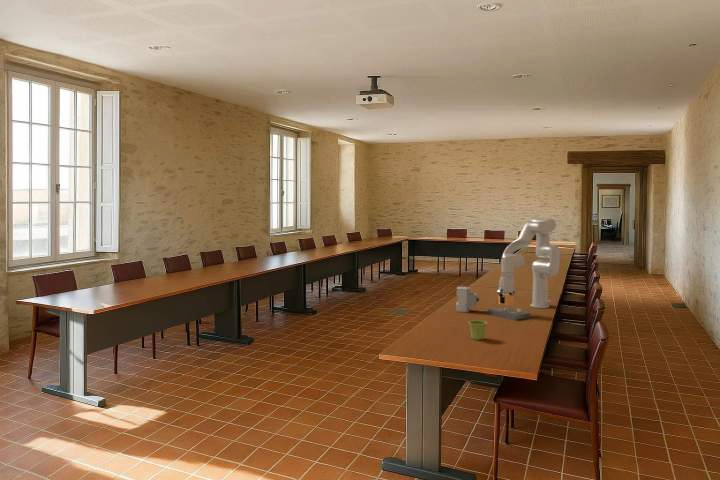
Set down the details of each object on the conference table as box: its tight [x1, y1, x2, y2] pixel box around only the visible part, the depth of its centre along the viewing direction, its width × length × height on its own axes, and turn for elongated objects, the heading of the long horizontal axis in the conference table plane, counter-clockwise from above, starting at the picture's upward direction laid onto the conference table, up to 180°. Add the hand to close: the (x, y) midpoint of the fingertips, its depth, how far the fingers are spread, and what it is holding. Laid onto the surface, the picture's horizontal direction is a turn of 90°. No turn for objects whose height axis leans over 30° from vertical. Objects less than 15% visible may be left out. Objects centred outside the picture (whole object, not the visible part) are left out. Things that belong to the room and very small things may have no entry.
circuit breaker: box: [455, 286, 480, 313], centre depth 354 cm, size 8×14×15 cm, turn 78°
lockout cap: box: [497, 293, 516, 306], centre depth 345 cm, size 7×7×6 cm
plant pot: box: [468, 320, 488, 341], centre depth 286 cm, size 9×9×9 cm
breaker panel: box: [487, 306, 532, 321], centre depth 341 cm, size 14×22×3 cm, turn 34°
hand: (506, 302), depth 345 cm, fingers closed on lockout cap, 7 cm apart
